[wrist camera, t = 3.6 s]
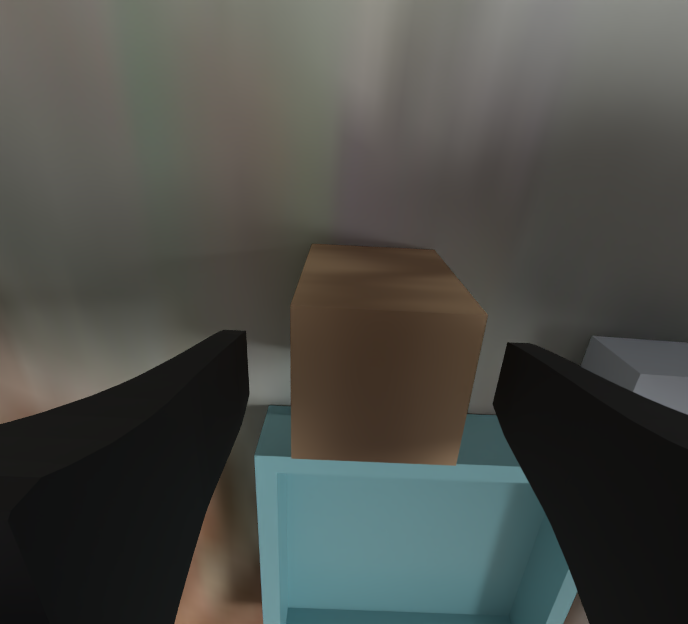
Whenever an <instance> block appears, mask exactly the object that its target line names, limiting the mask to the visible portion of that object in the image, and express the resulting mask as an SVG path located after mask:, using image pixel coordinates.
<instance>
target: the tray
mask: <svg viewBox="0 0 688 624" xmlns="http://www.w3.org/2000/svg"><path fill="white" fill-rule="evenodd" d="M254 460H255V478H256V497H257V515H258V534H259V552H260V571H261V589H262V608H263V624H563V623H564V620H565V618H566V616H567V614H568V612H569V609H570V607H571V605H572V603H573V600H574V598H575V596H576V594H577V589H576V586H575V583H574V581H573V578H572V575H571V573H570V570H569V567H568V565H567V563H566V560H565V558H564V555H563V553H562V550H561V548H560V546H559V543H558V541H557V538H556V536H555V534H554V531H553V529H552V526H551V524H550V522H549V520H548V518H547V516H546V514H545V512H544V510H543V508H542V506H541V504H540V502H539V500H538V499H537V497H536V495H535V493H534V491H533V489H532V487H531V486H530V484H529V482H528V480H527V478H526V476H525V474H524V473H523V471H522V469H521V467H520V465H519V463H518V462H517V460H516V458H515V456H514V454H513V452H512V450H511V448H510V446H509V444H508V442H507V441H506V439H505V437H504V434H503V432H502V429H501V426H500V424H499V421H498V418H497V415H477V414H467V416H466V421H465V426H464V430H463V435H462V440H461V444H460V449H459V454H458V458H457V463H456V466H450V465H427V464H404V463H380V462H357V461H333V460H310V459H291V406H273V405H269V407H268V411H267V414H266V418H265V421H264V424H263V428H262V431H261V434H260V438H259V441H258V445H257V448H256V451H255V455H254Z"/></svg>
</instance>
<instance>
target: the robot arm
mask: <svg viewBox="0 0 688 624" xmlns="http://www.w3.org/2000/svg"><path fill="white" fill-rule="evenodd" d="M248 398H249V377H248V359H247V341H246V331H236V330H222V331H220V332H218V333H216V334H214V335H212V336H210V337H209V338H207V339H205V340H203V341H202V342H200V343H198V344H196V345H195V346H193V347H191V348H190V349H188V350H186V351H184V352H183V353H181V354H179V355H177V356H176V357H174V358H172V359H170V360H168V361H166V362H164V363H162V364H160V365H159V366H157V367H155V368H153V369H151V370H149V371H147V372H145V373H143V374H141V375H139V376H137V377H135V378H133V379H131V380H128V381H126V382H124V383H122V384H119V385H117V386H114V387H112V388H110V389H107V390H105V391H102V392H100V393H97V394H95V395H92V396H90V397H87V398H84V399H81V400H78V401H75V402H72V403H69V404H66V405H63V406H60V407H57V408H54V409H51V410H48V411H45V412H42V413H39V414H36V415H32V416H29V417H25V418H22V419H18V420H15V421H11V422H7V423H3V424H0V624H174V622H175V619H176V615H177V611H178V607H179V603H180V600H181V596H182V592H183V589H184V585H185V582H186V578H187V575H188V571H189V568H190V564H191V561H192V557H193V554H194V550H195V547H196V544H197V540H198V537H199V534H200V530H201V527H202V524H203V520H204V517H205V514H206V511H207V508H208V506H209V503H210V500H211V497H212V495H213V493H214V490H215V488H216V485H217V483H218V481H219V478H220V476H221V473H222V471H223V469H224V466H225V464H226V461H227V459H228V457H229V454H230V452H231V449H232V447H233V445H234V442H235V440H236V437H237V435H238V432H239V430H240V427H241V425H242V421H243V417H244V414H245V410H246V406H247V402H248ZM493 406H494V409H495V412H496V415H497V418H498V421H499V424H500V426H501V429H502V432H503V434H504V437H505V439H506V441H507V442H508V444H509V446H510V448H511V450H512V452H513V454H514V456H515V458H516V460H517V462H518V463H519V465H520V467H521V469H522V471H523V473H524V474H525V476H526V478H527V480H528V482H529V484H530V486H531V487H532V489H533V491H534V493H535V495H536V497H537V499H538V500H539V502H540V504H541V506H542V508H543V510H544V512H545V514H546V516H547V518H548V520H549V522H550V524H551V526H552V529H553V531H554V534H555V536H556V538H557V541H558V543H559V546H560V548H561V550H562V553H563V555H564V558H565V560H566V563H567V565H568V567H569V570H570V573H571V575H572V578H573V581H574V583H575V586H576V589H577V591H578V594H579V596H580V599H581V602H582V604H583V607H584V610H585V612H586V615H587V618H588V621H589V624H688V415H687V414H685V413H682V412H679V411H677V410H674V409H672V408H669V407H667V406H664V405H662V404H659V403H657V402H655V401H652V400H650V399H648V398H645V397H643V396H641V395H639V394H637V393H634V392H632V391H630V390H628V389H626V388H623V387H621V386H619V385H617V384H615V383H613V382H611V381H609V380H607V379H605V378H603V377H600V376H598V375H596V374H594V373H592V372H590V371H588V370H586V369H584V368H582V367H580V366H578V365H576V364H574V363H572V362H570V361H568V360H566V359H564V358H562V357H560V356H558V355H556V354H554V353H552V352H550V351H548V350H546V349H543V348H541V347H538V346H536V345H533V344H530V343H509V342H507V347H506V351H505V355H504V359H503V363H502V367H501V372H500V376H499V380H498V384H497V388H496V392H495V396H494V401H493Z"/></svg>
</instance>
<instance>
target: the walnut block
mask: <svg viewBox="0 0 688 624" xmlns="http://www.w3.org/2000/svg"><path fill="white" fill-rule="evenodd" d="M487 317H488V315H487V313H486V312H485V311H484V310H483V309H482V307H481V306H480V305H479V304H478V302H477V301H476V300H475V299H474V298H473V296H472V295H471V294H470V293H469V292H468V290H467V289H466V288H465V287H464V285H463V284H462V283H461V282H460V281H459V279H458V278H457V277H456V276H455V274H454V273H453V272H452V271H451V270H450V268H449V267H448V266H447V265H446V263H445V262H444V261H443V260H442V259H441V257H440V256H439V255H438V254H437V253H436V251H435V250H429V249H409V248H389V247H368V246H348V245H328V244H312V245H311V248H310V251H309V254H308V256H307V259H306V262H305V265H304V268H303V271H302V274H301V276H300V279H299V282H298V285H297V288H296V291H295V294H294V297H293V299H292V302H291V305H290V342H291V459H310V460H333V461H357V462H380V463H404V464H427V465H450V466H456V463H457V458H458V454H459V449H460V444H461V440H462V435H463V430H464V426H465V421H466V416H467V411H468V407H469V402H470V397H471V393H472V388H473V383H474V379H475V374H476V369H477V364H478V360H479V355H480V350H481V346H482V341H483V336H484V332H485V327H486V322H487Z"/></svg>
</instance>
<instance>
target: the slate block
mask: <svg viewBox="0 0 688 624" xmlns="http://www.w3.org/2000/svg"><path fill="white" fill-rule="evenodd" d="M581 367H582V368H584V369H586V370H588V371H590V372H592V373H594V374H596V375H598V376H600V377H603V378H605V379H607V380H609V381H611V382H613V383H615V384H617V385H619V386H621V387H623V388H626V389H628V390H630V391H632V392H634V393H637V394H639V395H641V396H643V397H645V398H648V399H650V400H652V401H655V402H657V403H659V404H662V405H664V406H667V407H669V408H672V409H674V410H677V411H679V412H682V413H685V414H687V415H688V343H686V342H672V341H658V340H644V339H630V338H616V337H602V336H591V339H590V342H589V345H588V347H587V350H586V353H585V356H584V358H583V361H582V364H581Z"/></svg>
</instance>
